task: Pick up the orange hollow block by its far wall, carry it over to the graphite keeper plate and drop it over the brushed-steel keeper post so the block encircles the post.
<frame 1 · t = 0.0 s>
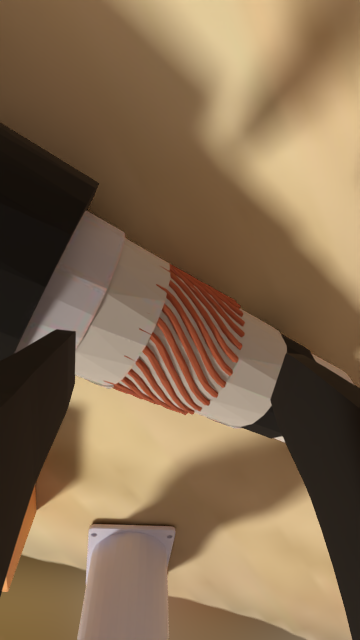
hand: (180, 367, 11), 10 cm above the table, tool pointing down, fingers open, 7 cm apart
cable: (167, 307, 22), on the table, touching keeper
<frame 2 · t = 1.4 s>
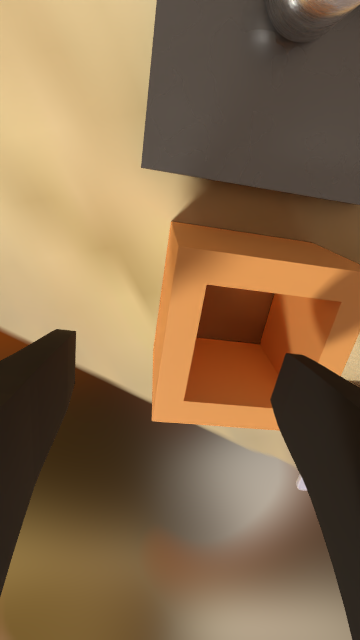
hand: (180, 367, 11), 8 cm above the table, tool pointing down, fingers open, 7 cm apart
keeper: (296, 0, 13), on the table
orange hollow block: (227, 299, 18), on the table
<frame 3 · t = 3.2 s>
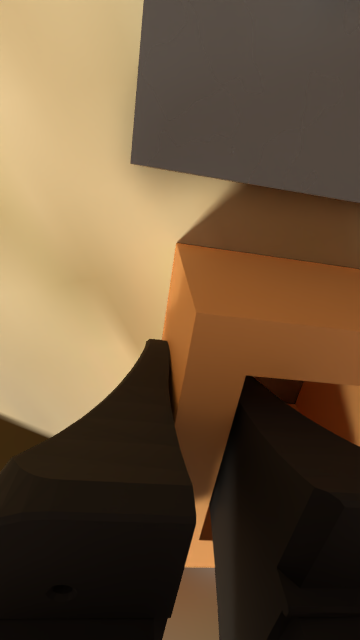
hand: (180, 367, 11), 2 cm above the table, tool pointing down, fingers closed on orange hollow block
orange hollow block: (254, 348, 13), on the table, touching gripper
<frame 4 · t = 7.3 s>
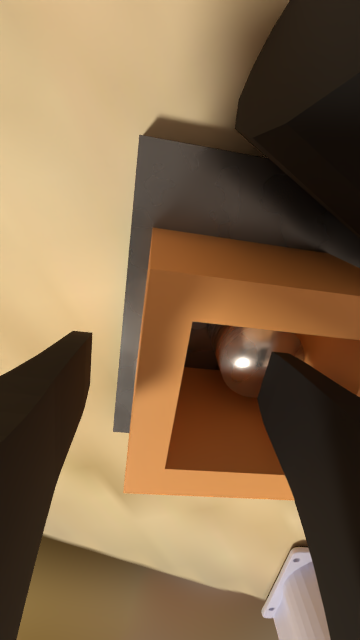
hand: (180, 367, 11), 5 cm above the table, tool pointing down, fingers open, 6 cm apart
keeper: (237, 317, 16), on the table
orange hollow block: (224, 322, 15), point 1 cm above the table, touching keeper
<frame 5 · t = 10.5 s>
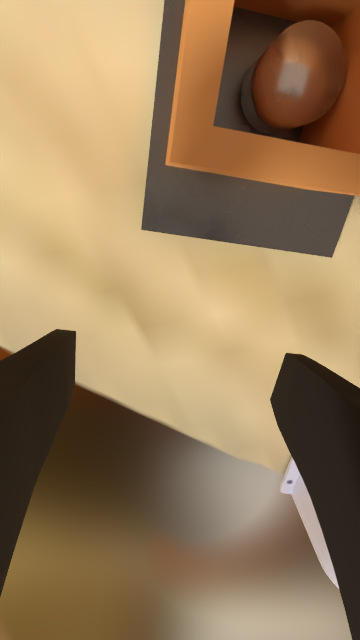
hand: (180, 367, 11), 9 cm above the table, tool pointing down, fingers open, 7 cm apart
keeper: (268, 98, 16), on the table
orange hollow block: (257, 88, 15), point 1 cm above the table, touching keeper
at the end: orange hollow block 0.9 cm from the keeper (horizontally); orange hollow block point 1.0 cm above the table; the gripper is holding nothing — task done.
